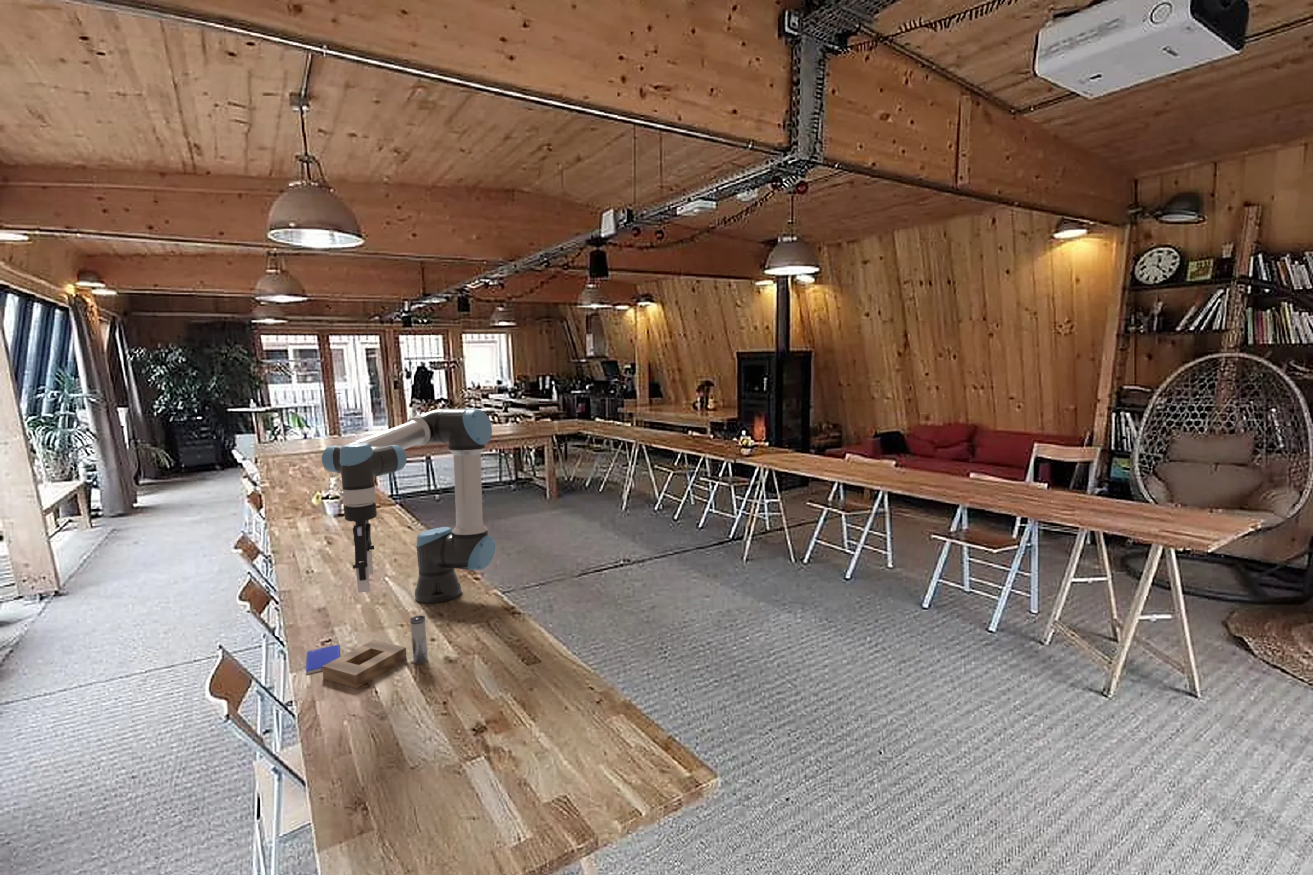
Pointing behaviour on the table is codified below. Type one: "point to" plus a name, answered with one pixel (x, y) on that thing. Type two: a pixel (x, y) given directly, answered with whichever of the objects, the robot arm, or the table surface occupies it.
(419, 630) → the pin
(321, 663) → the hard drive
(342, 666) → the slot block
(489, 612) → the table surface
